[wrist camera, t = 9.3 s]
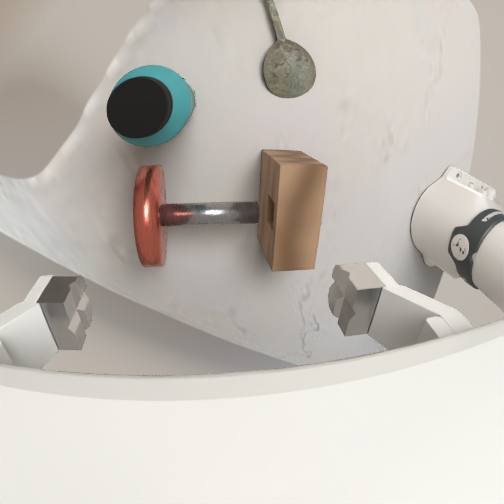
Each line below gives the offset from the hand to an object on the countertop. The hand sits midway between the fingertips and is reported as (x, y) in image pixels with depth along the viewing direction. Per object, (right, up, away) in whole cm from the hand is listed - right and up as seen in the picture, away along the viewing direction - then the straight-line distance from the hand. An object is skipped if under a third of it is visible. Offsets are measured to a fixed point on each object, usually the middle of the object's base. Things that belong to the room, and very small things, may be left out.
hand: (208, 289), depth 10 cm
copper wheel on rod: (-5, +8, +29) cm, 30 cm away
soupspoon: (+4, +30, +21) cm, 36 cm away
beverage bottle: (-9, +19, +24) cm, 31 cm away
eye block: (+5, +9, +31) cm, 33 cm away
